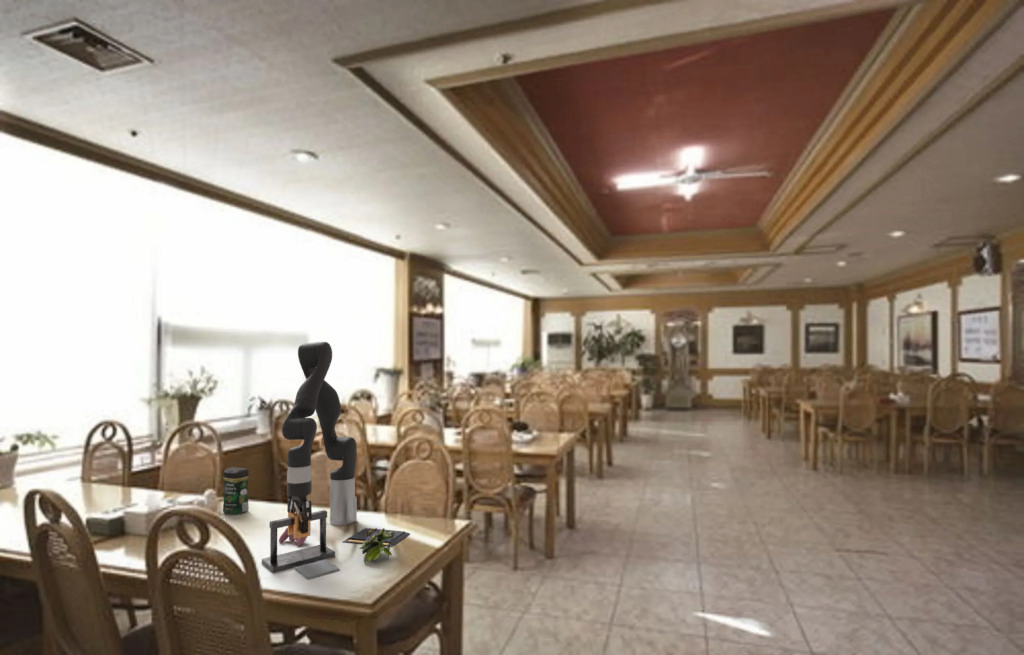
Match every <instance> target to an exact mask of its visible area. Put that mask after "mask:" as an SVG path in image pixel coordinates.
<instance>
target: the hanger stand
mask: <svg viewBox="0 0 1024 655" xmlns="http://www.w3.org/2000/svg"><path fill="white" fill-rule="evenodd" d="M327 518H328V511H327V510H325V509H323V510H319V511H314V512H312V519H311V522H312V521H317V520H319V544H317V545H312V546H310V547H305V548H300V549H297V550H293V551H288V552H285V553H280V554H278V529H279V528H284V527H288V526H290V525H294V519H293V518H291V517H289V518H288V517H284V518H281V519H280V518H279V519H275V520H269V529H270V536H269V537H270V540H269V542H270V543H269V544H270V546H269V547H270V553H269V554H270V555H269V556H267V557H264V558H261V565H263V566H264V567H265V568H266V569H268V571H270V572H271V573H274V574H275V573H278V572H282V571H285V570H289V569H293V568H295V567H299V566H303V565H307V564H310V563H314V562H318V561H322V560H325V559H326V560H328V559H331V558H334V557H336V551H334V550H333V549H332V548H330V547H328V546H327Z"/></svg>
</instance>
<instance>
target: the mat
mask: <svg viewBox="0 0 1024 655" xmlns="http://www.w3.org/2000/svg"><path fill="white" fill-rule="evenodd" d="M294 570H295V571H296V572H297V573H299V574H300V575H301V576H302V577H304V578H305V579H306V580H311V579H313V578H317V577H320V576H324V575H328V574H330V573H335V572H338V571H340V567H339V566H337V565H335V564H334V563H332V562H331V561H329V560H328V559H324V560H320V561H316V562H312V563H308V564H305V565H301V566H297V567H294ZM310 578H311V579H310Z"/></svg>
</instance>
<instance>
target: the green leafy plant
mask: <svg viewBox="0 0 1024 655" xmlns="http://www.w3.org/2000/svg"><path fill="white" fill-rule="evenodd" d="M377 529H378V528H377V527H376V528H372V529H371V531H367V534H366V536H367V537H368V536H369V537H368V538H365V539H366V541H364V542H363V544H362V546H360V547H359V549H360V550H361V554H362V555H364V554H365V555H364V557H363V563H364V564H365V565H366V564H367V563H368V564H369V562H371V561H376V560H377V559H379V557H380V556H381V555H382V554H383V552H384V554H386V555H387V561H388V560H389V558H390V556H392V555H393V554H392V552H391V551H390V549H391V547H390V545H391V542H392V539H393V537H394V532H392V531H391V532H389V533H388V534H389V535H387V534H386V532H387V531H386V530H387V529H385V527H383V528H382V530H379V531H377V533H376V532H375V531H376V530H377ZM374 532H375V534H373V533H374ZM370 535H371V536H370ZM391 537H392V539H391V542H390V544H389V546H388V547H384V546H383V542H385V541H386V539H388V538H391Z"/></svg>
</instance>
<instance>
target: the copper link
mask: <svg viewBox="0 0 1024 655" xmlns="http://www.w3.org/2000/svg"><path fill="white" fill-rule="evenodd" d="M308 515H309V513H308ZM302 516H303V515H302ZM289 517H291V518H293V519H294V525H290V526H287V527H288V535H292V534H294V539H298V538H302V537H306V536H308V537H309V536H311V522H312V521H311V520H309V521H308V532H307V533H304V534H302V533H301V521H300V517H299V516H298V515H297V511H291V512H287V518H289Z"/></svg>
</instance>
